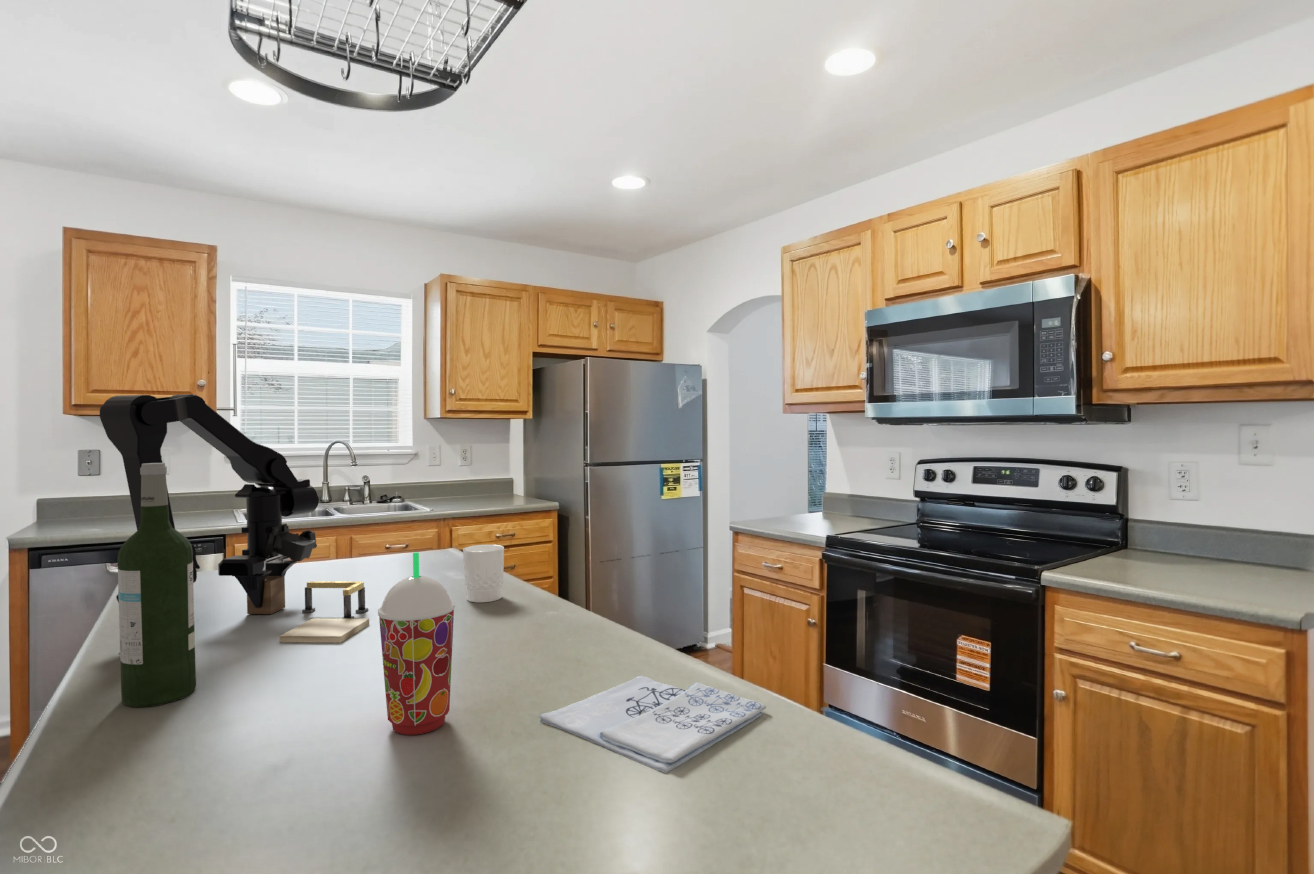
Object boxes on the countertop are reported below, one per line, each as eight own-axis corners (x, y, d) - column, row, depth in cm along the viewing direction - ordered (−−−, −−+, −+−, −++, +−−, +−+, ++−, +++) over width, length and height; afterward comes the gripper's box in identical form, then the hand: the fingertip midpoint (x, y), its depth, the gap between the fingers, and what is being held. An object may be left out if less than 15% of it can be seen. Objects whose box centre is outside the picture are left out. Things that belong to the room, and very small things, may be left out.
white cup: (513, 596, 142) (512, 546, 142) (484, 605, 136) (483, 553, 135) (484, 591, 146) (484, 543, 146) (455, 600, 140) (454, 549, 140)
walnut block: (271, 613, 130) (270, 581, 130) (247, 613, 131) (246, 581, 130) (285, 607, 135) (284, 575, 135) (261, 607, 135) (261, 575, 135)
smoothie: (380, 716, 85) (377, 549, 85) (453, 705, 88) (450, 544, 88) (379, 746, 77) (376, 562, 77) (459, 733, 80) (456, 556, 80)
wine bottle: (210, 687, 95) (205, 461, 94) (154, 710, 87) (147, 465, 87) (164, 681, 97) (158, 461, 96) (105, 704, 90) (98, 465, 89)
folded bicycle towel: (667, 780, 71) (667, 758, 71) (535, 725, 84) (535, 706, 84) (769, 717, 85) (769, 699, 85) (643, 679, 98) (643, 663, 98)
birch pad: (341, 642, 114) (341, 636, 114) (279, 642, 114) (279, 635, 114) (369, 624, 124) (369, 618, 124) (312, 624, 124) (312, 618, 124)
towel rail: (349, 621, 126) (349, 590, 125) (285, 621, 126) (284, 590, 126) (368, 610, 133) (367, 581, 133) (306, 610, 133) (306, 581, 133)
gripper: (278, 527, 123) (280, 618, 123) (332, 513, 141) (333, 591, 142) (214, 527, 123) (217, 617, 123) (277, 513, 142) (278, 591, 142)
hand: (266, 603), depth 133 cm, fingers closed on walnut block, 4 cm apart
